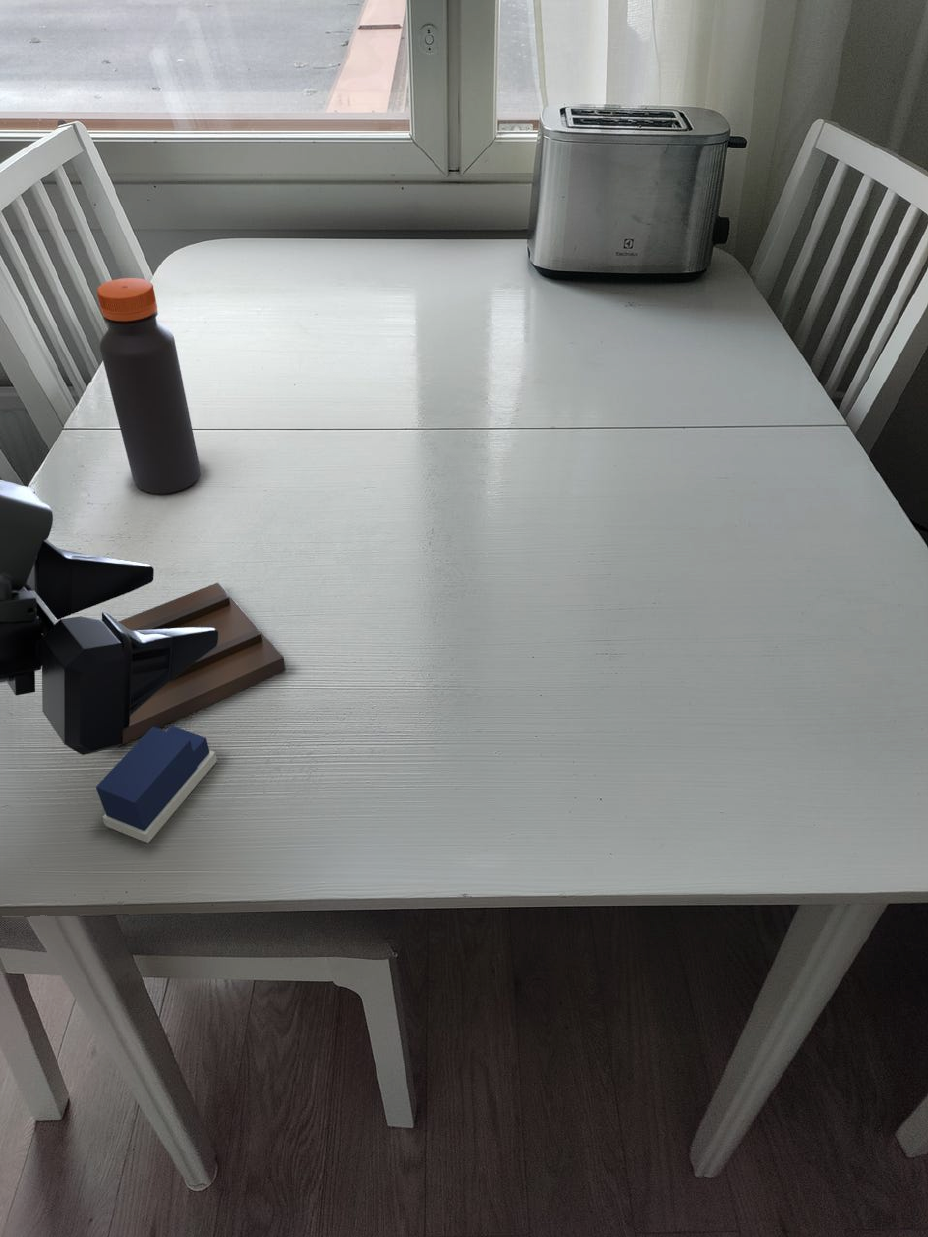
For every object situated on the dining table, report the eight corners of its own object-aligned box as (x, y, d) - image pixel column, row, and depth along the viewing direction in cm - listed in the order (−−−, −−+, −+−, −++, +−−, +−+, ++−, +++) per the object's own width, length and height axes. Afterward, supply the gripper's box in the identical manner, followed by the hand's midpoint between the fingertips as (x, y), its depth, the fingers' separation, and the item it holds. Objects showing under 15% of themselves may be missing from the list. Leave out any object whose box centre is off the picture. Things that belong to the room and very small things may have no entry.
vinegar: (205, 459, 102) (168, 272, 89) (196, 494, 97) (156, 301, 84) (140, 461, 102) (94, 274, 89) (128, 496, 96) (77, 303, 83)
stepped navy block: (148, 843, 64) (135, 806, 62) (105, 826, 65) (90, 788, 63) (217, 761, 70) (208, 723, 67) (176, 746, 71) (166, 708, 68)
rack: (117, 747, 71) (110, 726, 69) (63, 658, 78) (55, 637, 77) (286, 670, 77) (282, 649, 76) (221, 595, 85) (216, 574, 83)
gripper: (-68, 576, 40) (268, 539, 49) (-157, 436, 52) (127, 429, 62) (-54, 794, 44) (251, 721, 54) (-138, 619, 56) (123, 586, 66)
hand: (183, 603), depth 59 cm, fingers open, 9 cm apart
